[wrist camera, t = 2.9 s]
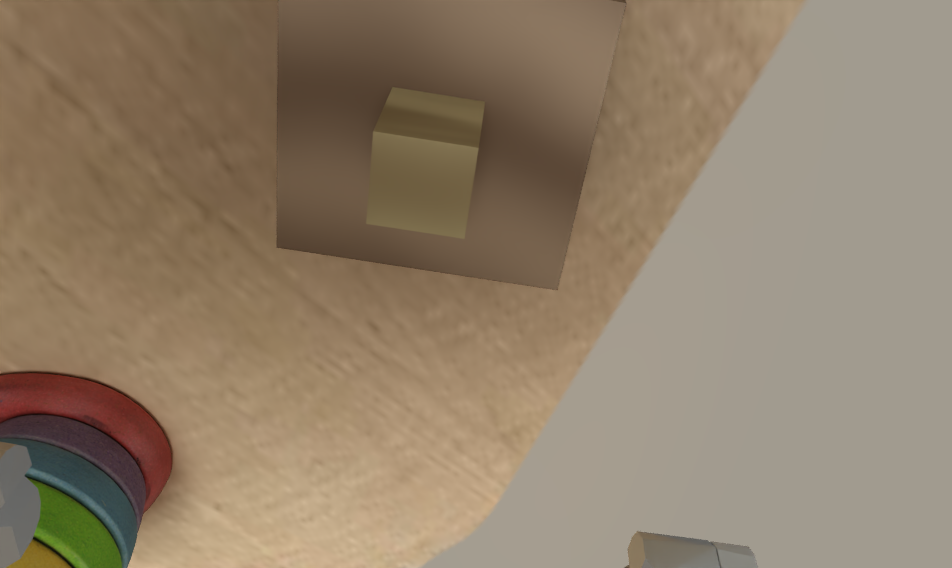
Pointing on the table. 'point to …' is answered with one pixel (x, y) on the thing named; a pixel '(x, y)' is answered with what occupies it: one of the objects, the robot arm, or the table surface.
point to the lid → (439, 130)
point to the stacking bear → (83, 467)
